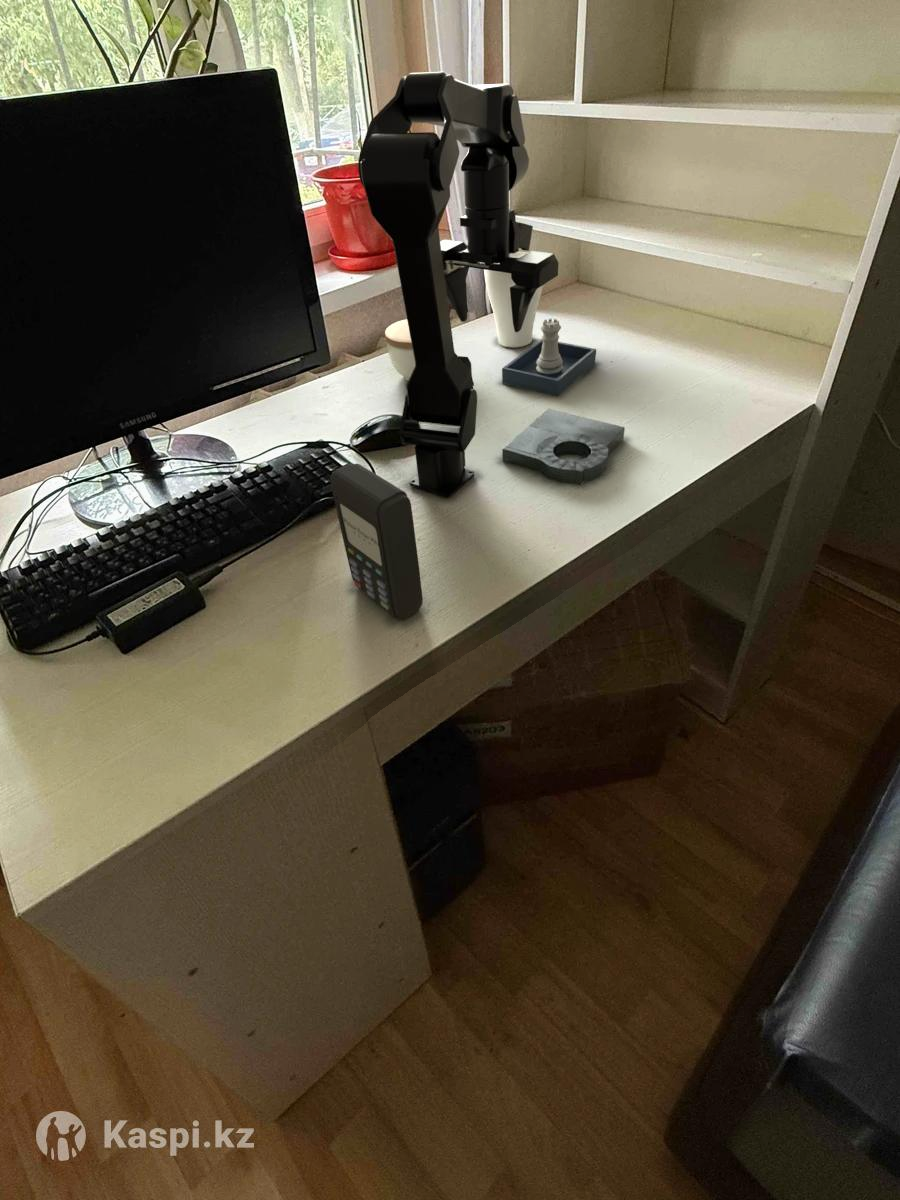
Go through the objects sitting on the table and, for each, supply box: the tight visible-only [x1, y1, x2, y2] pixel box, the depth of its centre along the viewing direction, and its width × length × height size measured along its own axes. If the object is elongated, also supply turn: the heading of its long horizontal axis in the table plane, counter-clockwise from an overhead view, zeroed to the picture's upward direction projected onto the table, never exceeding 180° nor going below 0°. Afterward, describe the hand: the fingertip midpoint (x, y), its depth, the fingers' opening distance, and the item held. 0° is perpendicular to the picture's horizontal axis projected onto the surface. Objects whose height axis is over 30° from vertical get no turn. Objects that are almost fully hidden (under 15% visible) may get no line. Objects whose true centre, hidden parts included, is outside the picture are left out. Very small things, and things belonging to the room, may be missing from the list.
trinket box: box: [384, 318, 415, 382], centre depth 113 cm, size 11×11×9 cm
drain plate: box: [501, 408, 626, 486], centre depth 94 cm, size 14×13×2 cm
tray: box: [501, 338, 597, 397], centre depth 112 cm, size 13×10×3 cm
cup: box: [483, 251, 544, 349], centre depth 119 cm, size 10×10×14 cm
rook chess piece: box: [536, 318, 563, 375], centre depth 110 cm, size 4×4×8 cm
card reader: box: [330, 462, 423, 620], centre depth 70 cm, size 9×4×15 cm, turn 42°
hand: (490, 325), depth 99 cm, fingers open, 9 cm apart
